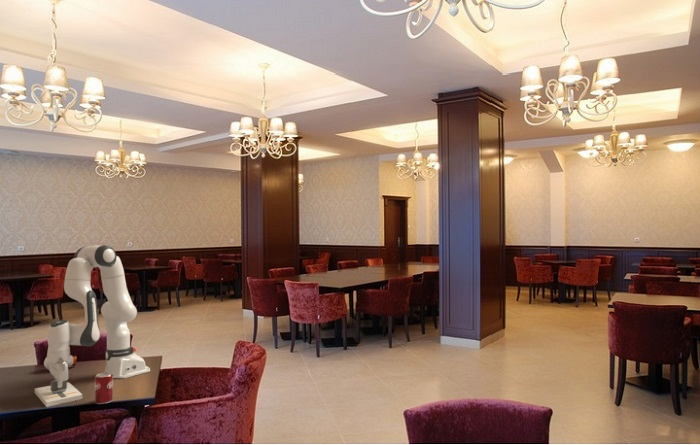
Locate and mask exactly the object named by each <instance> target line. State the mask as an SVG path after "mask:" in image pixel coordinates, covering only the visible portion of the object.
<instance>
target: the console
mask: <svg viewBox="0 0 700 445" xmlns="http://www.w3.org/2000/svg"><path fill="white" fill-rule="evenodd" d="M34 394H35V395H36V397H37V398H39V400H40V401H41V402H42V404H43V405H44V406H45V407H46V408H48V407H53V406H56V405H61V404H66V403H71V402H76V401H79V400H83V394H82V393H81V392H80V391H79V390H78V389H77V388H76V387H75V386H74V385H72V384H71V383H70V382H69V381H67V389H66V391H63V392H58V393H52V391H51V385H46V386H42V387H37V388H34ZM75 400H76V401H75Z"/></svg>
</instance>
